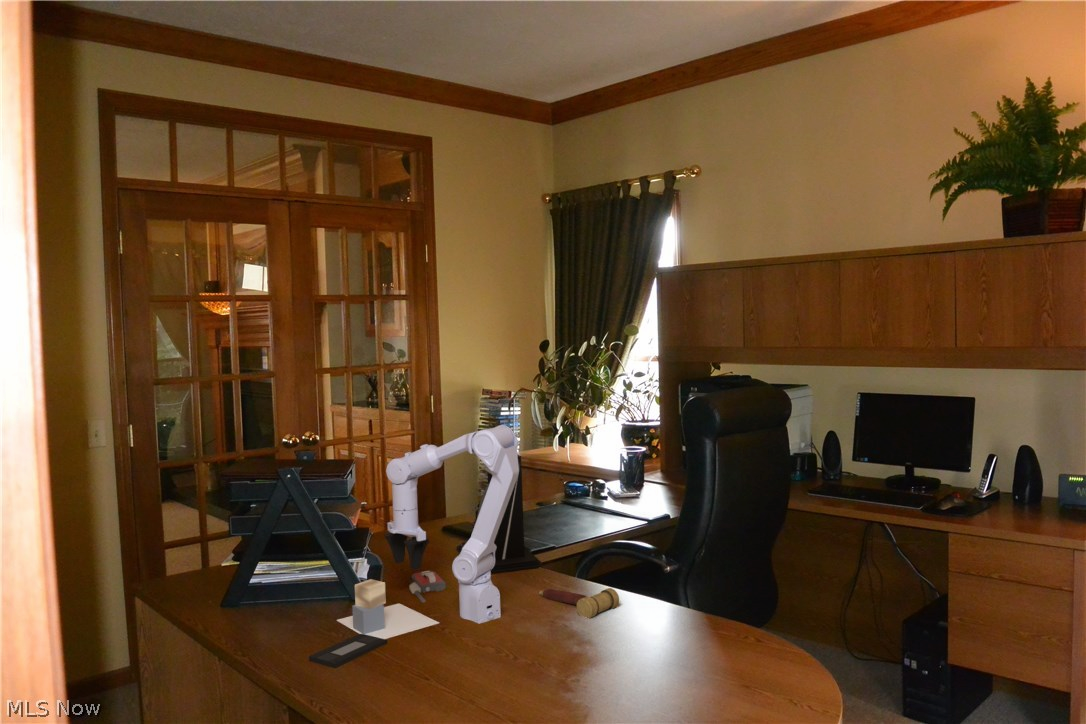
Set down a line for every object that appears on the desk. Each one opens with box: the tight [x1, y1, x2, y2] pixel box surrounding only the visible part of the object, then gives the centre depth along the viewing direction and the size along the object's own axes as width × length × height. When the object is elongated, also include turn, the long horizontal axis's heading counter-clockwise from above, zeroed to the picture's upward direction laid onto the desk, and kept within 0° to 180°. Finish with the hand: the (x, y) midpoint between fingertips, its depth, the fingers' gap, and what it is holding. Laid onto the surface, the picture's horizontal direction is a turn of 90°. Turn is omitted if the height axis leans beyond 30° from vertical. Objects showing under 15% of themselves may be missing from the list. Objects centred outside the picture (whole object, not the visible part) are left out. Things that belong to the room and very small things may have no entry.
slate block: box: [351, 604, 385, 634], centre depth 181 cm, size 5×5×5 cm
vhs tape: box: [308, 633, 388, 669], centre depth 168 cm, size 8×14×2 cm, turn 147°
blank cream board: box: [336, 603, 440, 640], centre depth 185 cm, size 18×16×1 cm
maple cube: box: [354, 578, 387, 609], centre depth 182 cm, size 5×5×5 cm
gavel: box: [538, 587, 620, 619], centre depth 196 cm, size 21×5×10 cm
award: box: [456, 453, 543, 574], centre depth 237 cm, size 30×19×30 cm, turn 17°
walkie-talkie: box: [408, 570, 447, 603], centre depth 208 cm, size 9×4×20 cm
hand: (407, 565), depth 195 cm, fingers open, 7 cm apart
